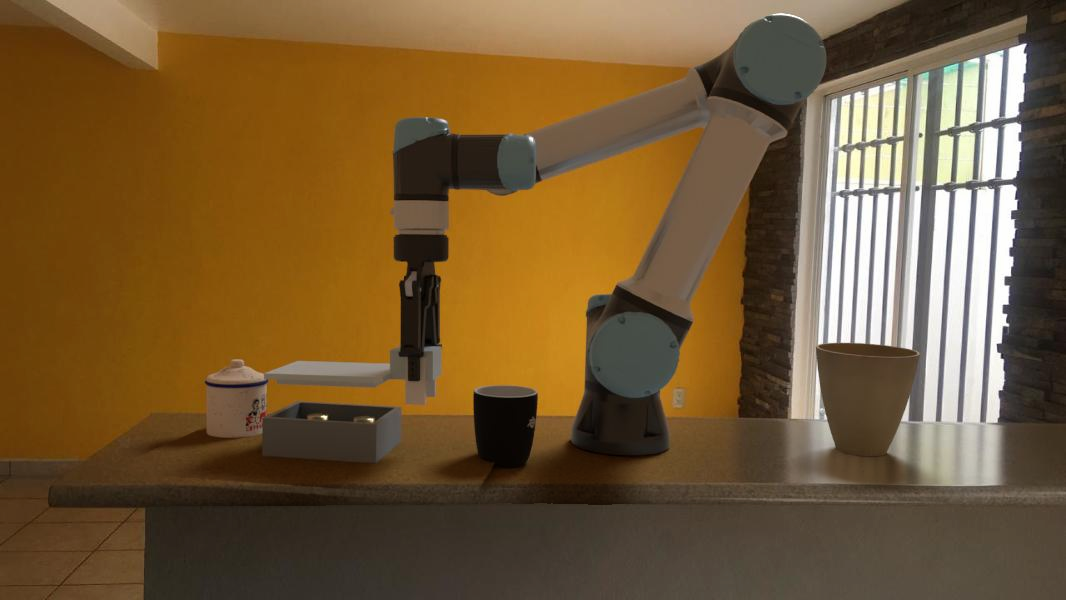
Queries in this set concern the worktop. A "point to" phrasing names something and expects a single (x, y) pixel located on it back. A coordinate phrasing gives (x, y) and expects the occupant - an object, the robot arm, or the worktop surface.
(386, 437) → the tub
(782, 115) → the robot arm
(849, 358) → the plant pot
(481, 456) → the mug
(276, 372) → the lid
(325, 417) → the part
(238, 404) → the teacup with lid
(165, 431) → the worktop surface
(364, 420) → the part
